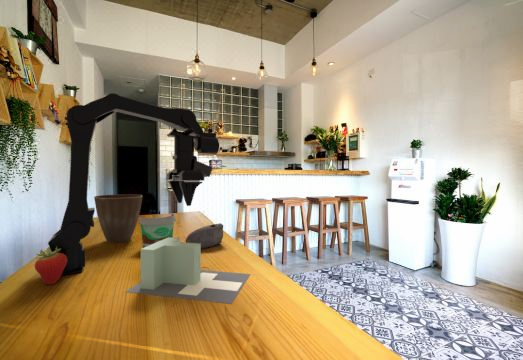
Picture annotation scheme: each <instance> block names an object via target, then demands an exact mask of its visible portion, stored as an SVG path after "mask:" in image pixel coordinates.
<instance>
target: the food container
mask: <svg viewBox="0 0 523 360" xmlns="http://www.w3.org/2000/svg"><path fill="white" fill-rule="evenodd" d="M176 221H177V218H176V216H175V213H171V215H168V216H154V217H139V219H138V225H140V231H141V241H142V248H144V247H147V246H149V245H151V244H154V243H156V242H159V241H161V240H163V239H166V238H168V237H170V238H174V237H173V236H174V227H175V226H174V225H175V222H176Z"/></svg>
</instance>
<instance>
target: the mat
mask: <svg viewBox="0 0 523 360" xmlns="http://www.w3.org/2000/svg"><path fill="white" fill-rule="evenodd" d="M250 276H251V273H241V272H231V271H220V270H209V269H208V270H207V269H206V270H205V269H201V272H200V281H199V282H198V283H196V284H195V285H184V284H174V283H163V284H161V285H160V286H158V287H157V288H156V289H154V290H152V289H142V288H141V281H140V282H138V283H136V284H135V285H134V286H132V287H131V288H129V289H127V290H125V291H124V293H128V294H129V293H130V294H140V295H147V296H158V297H165V298H175V299H176V298H177V299H184V300H193V301H202V302H203V301H204V302H211V303H219V304H220V303H221V304H228V305H229V304H230V305H233V303H234V301H235V300H236V298H237V296H238V295H239V294H240V291H241V290H242V289H243V287H244V285H245V284H246V282H247V281H248V280H249V277H250Z"/></svg>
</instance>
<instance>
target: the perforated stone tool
mask: <svg viewBox="0 0 523 360" xmlns="http://www.w3.org/2000/svg"><path fill="white" fill-rule="evenodd" d="M223 238H224V224H222V223H214V224H213V223H212V224H211V225H205V226H202V227H200V228H197V229H195V230H193V231H192V232H190V233H189V234H188V235H187V236H186V239H185V243H198V244H201V249H207V248H211V247H214V246H216V245H219V244H221V243H222V242H223Z"/></svg>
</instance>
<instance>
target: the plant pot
mask: <svg viewBox="0 0 523 360" xmlns="http://www.w3.org/2000/svg"><path fill="white" fill-rule="evenodd" d="M93 199H94V203H95V204H94V205H95V211H96V214H97V218H98V223H99V225H100V228H101V231H102V233H103V236H104V238H105V240H106V242H107V243H109V244H121V243H126V242H129V241H130V240H132V238H133V235H134V233H135V232H134V231H135V230H136V227H137V224H138V222H139V218H140V217H139V216H140V214H141V208H142V201H143V195H142V194H133V193H132V194H129V193H128V194H127V193H125V194H123V193H122V194H104V195H96V196H94V197H93Z"/></svg>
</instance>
